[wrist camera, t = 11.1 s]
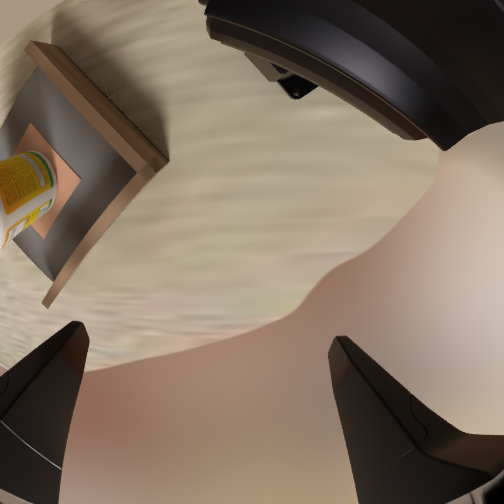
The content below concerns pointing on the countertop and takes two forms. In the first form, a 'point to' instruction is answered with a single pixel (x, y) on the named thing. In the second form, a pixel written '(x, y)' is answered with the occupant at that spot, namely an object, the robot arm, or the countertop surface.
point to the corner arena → (75, 161)
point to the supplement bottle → (24, 192)
